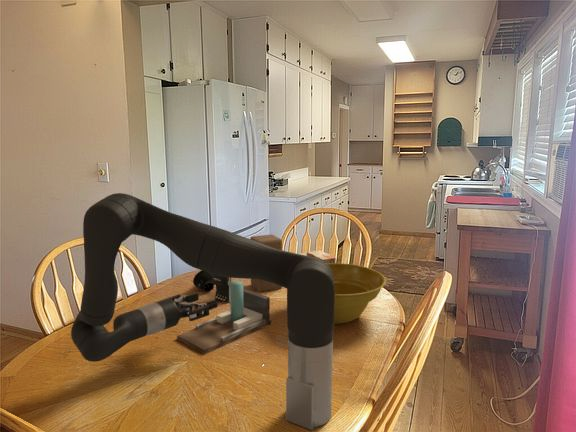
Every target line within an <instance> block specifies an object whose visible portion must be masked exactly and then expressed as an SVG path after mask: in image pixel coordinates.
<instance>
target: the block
mask: <svg viewBox="0 0 576 432" xmlns="http://www.w3.org/2000/svg"><path fill="white" fill-rule="evenodd" d="M249 239H251V240H254V241H257V242H259V243H262V244H264V245H267V246H269V247H272V248H275V249H279V250H283V240H282V238H280V237H278V236H276V235H274V234H264V235H253V236H251V237H250V238H249ZM250 285H251V286H253V288H255V290H257V291H258V292H260V293H261V292H265V291H266V292H267V291H273V290H279V289H282V288H283V287H282V286H279V285H277V284H274V283H271V282H268V281H264V280H259V279H250Z"/></svg>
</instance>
